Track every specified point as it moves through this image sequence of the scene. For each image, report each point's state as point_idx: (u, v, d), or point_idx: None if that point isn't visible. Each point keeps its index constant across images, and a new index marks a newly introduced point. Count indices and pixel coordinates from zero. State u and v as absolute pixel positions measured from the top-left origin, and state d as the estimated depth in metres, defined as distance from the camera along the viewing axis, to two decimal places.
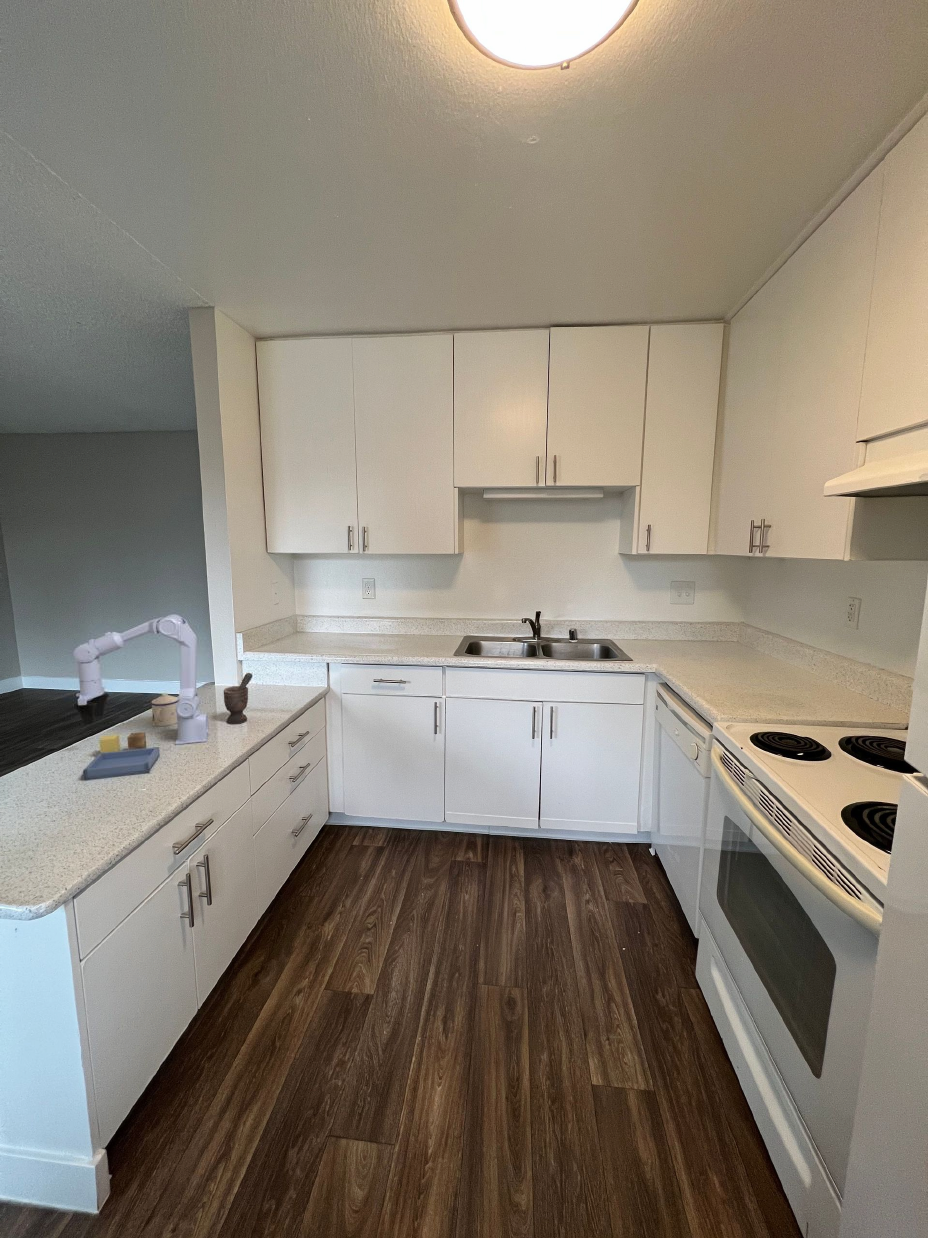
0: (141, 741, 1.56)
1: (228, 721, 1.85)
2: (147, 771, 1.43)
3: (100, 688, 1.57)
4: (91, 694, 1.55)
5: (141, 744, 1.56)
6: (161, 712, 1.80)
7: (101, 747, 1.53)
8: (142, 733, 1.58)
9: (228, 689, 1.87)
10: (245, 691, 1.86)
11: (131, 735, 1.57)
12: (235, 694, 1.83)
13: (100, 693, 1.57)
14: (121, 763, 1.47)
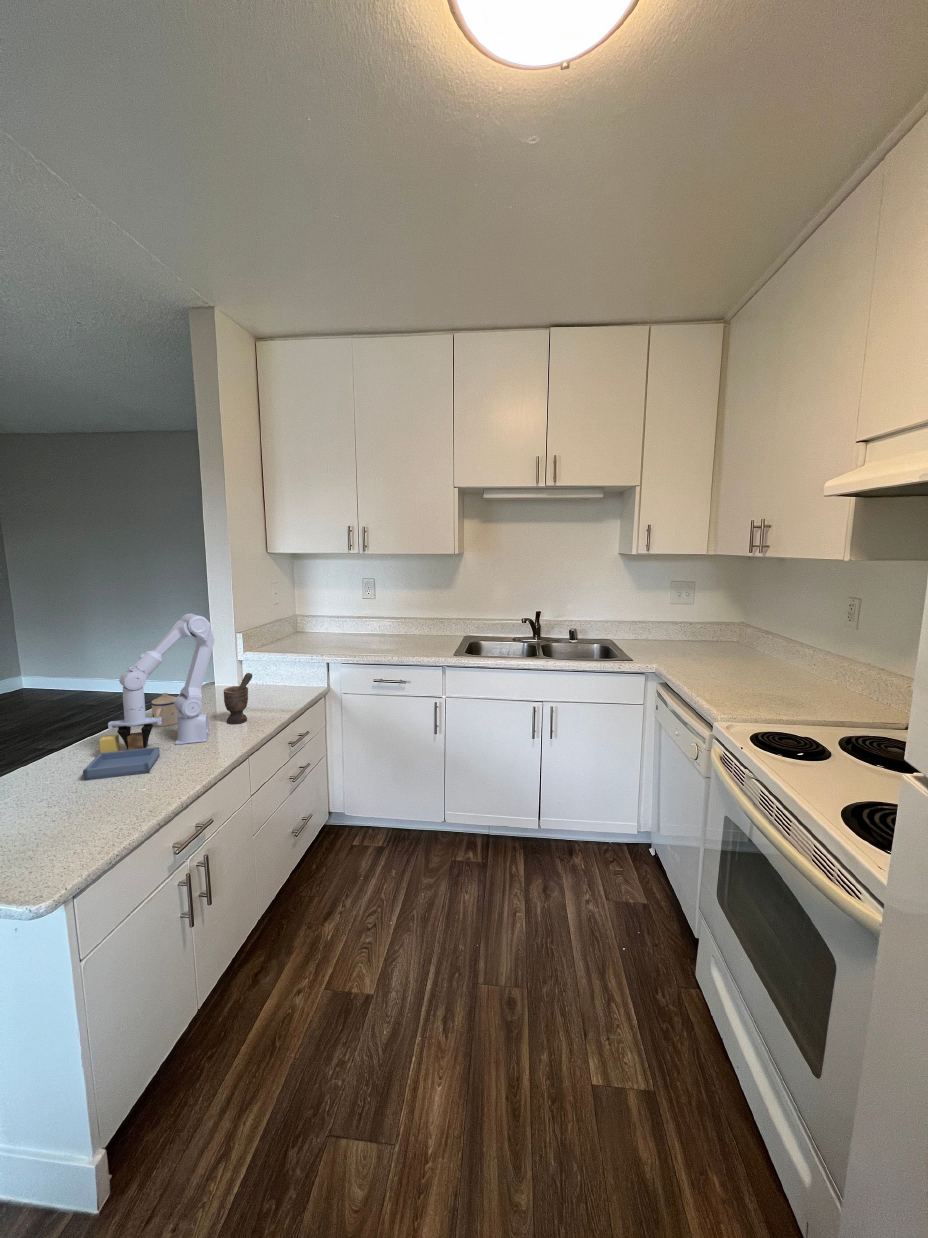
0: (141, 741, 1.56)
1: (228, 721, 1.85)
2: (147, 771, 1.43)
3: (130, 719, 1.54)
4: (124, 721, 1.55)
5: (141, 744, 1.56)
6: (161, 712, 1.80)
7: (101, 747, 1.53)
8: None
9: (228, 689, 1.87)
10: (245, 691, 1.86)
11: (131, 735, 1.57)
12: (235, 694, 1.83)
13: (129, 723, 1.54)
14: (121, 763, 1.47)
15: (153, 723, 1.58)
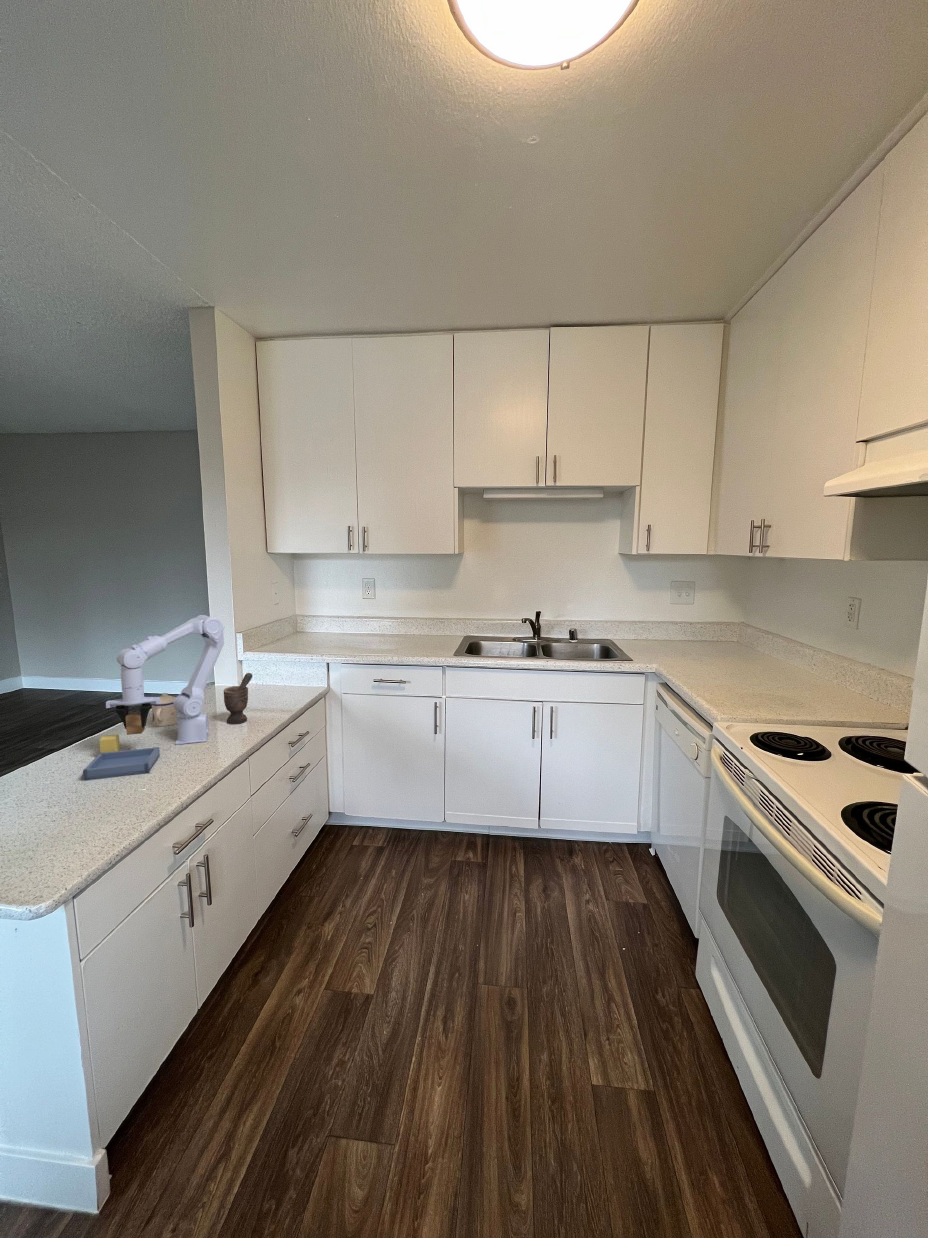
0: (139, 720, 1.54)
1: (228, 721, 1.85)
2: (147, 771, 1.43)
3: (128, 697, 1.52)
4: (122, 700, 1.53)
5: (139, 723, 1.54)
6: (161, 712, 1.80)
7: (101, 747, 1.53)
8: (140, 713, 1.56)
9: (228, 689, 1.87)
10: (245, 691, 1.86)
11: (129, 714, 1.55)
12: (235, 694, 1.83)
13: (127, 702, 1.52)
14: (121, 763, 1.47)
15: (152, 702, 1.56)
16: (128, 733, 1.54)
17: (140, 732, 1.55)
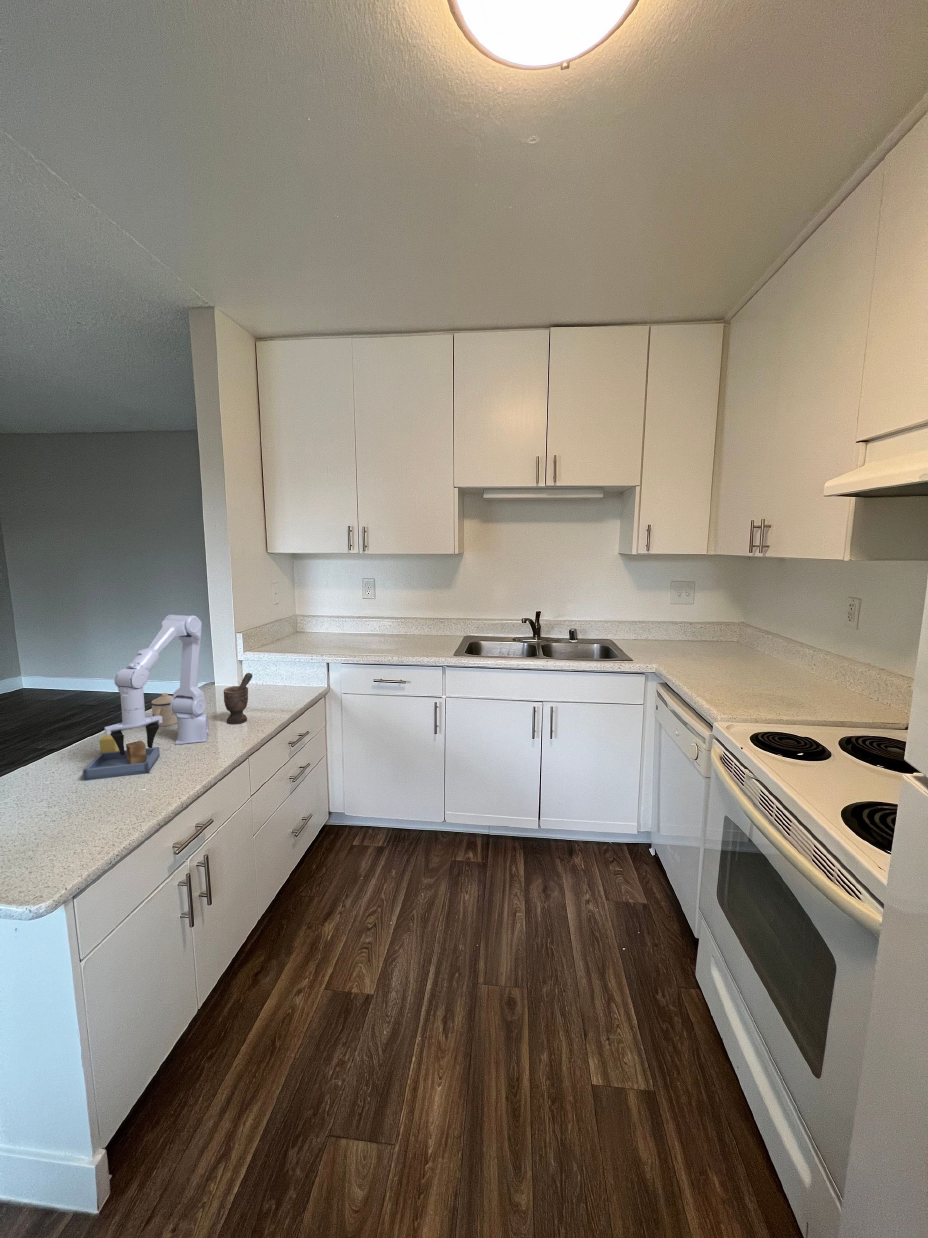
0: (144, 749, 1.47)
1: (228, 721, 1.85)
2: (147, 771, 1.43)
3: (134, 719, 1.44)
4: (124, 724, 1.43)
5: (144, 752, 1.47)
6: (161, 712, 1.80)
7: (101, 747, 1.53)
8: (140, 742, 1.49)
9: (228, 689, 1.87)
10: (245, 691, 1.86)
11: (130, 745, 1.46)
12: (235, 694, 1.83)
13: (133, 725, 1.43)
14: (121, 763, 1.47)
15: (153, 722, 1.50)
16: None
17: (145, 761, 1.48)
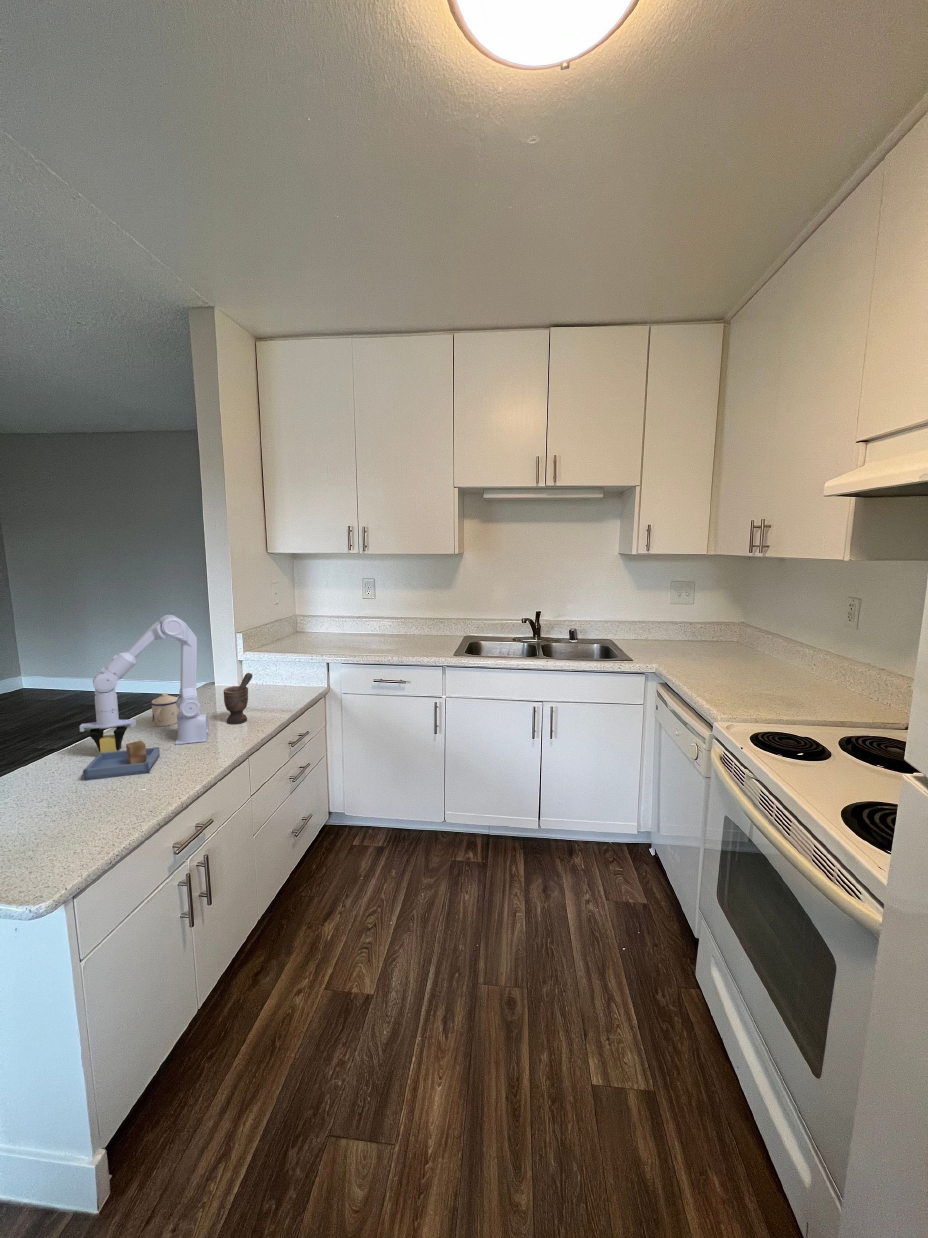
0: (144, 749, 1.47)
1: (228, 721, 1.85)
2: (147, 771, 1.43)
3: (102, 721, 1.51)
4: (96, 724, 1.52)
5: (144, 752, 1.47)
6: (161, 712, 1.80)
7: (101, 747, 1.53)
8: (140, 742, 1.49)
9: (228, 689, 1.87)
10: (245, 691, 1.86)
11: (130, 745, 1.46)
12: (235, 694, 1.83)
13: (101, 726, 1.51)
14: (121, 763, 1.47)
15: (126, 725, 1.56)
16: None
17: (145, 761, 1.48)
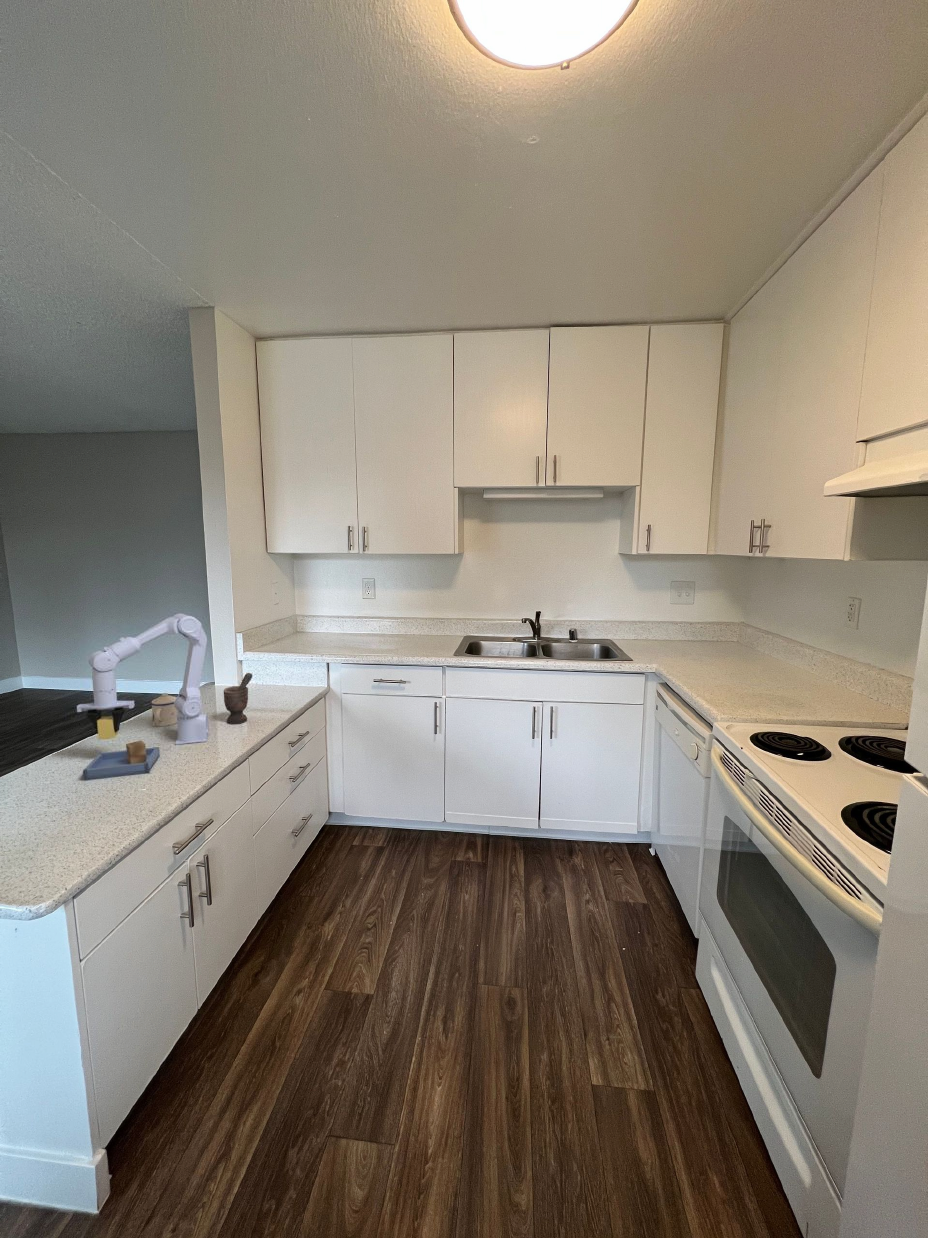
0: (144, 749, 1.47)
1: (228, 721, 1.85)
2: (147, 771, 1.43)
3: (100, 701, 1.47)
4: (94, 704, 1.48)
5: (144, 752, 1.47)
6: (161, 712, 1.80)
7: (99, 728, 1.49)
8: (140, 742, 1.49)
9: (228, 689, 1.87)
10: (245, 691, 1.86)
11: (130, 745, 1.46)
12: (235, 694, 1.83)
13: (98, 706, 1.47)
14: (121, 763, 1.47)
15: (125, 706, 1.52)
16: None
17: (145, 761, 1.48)
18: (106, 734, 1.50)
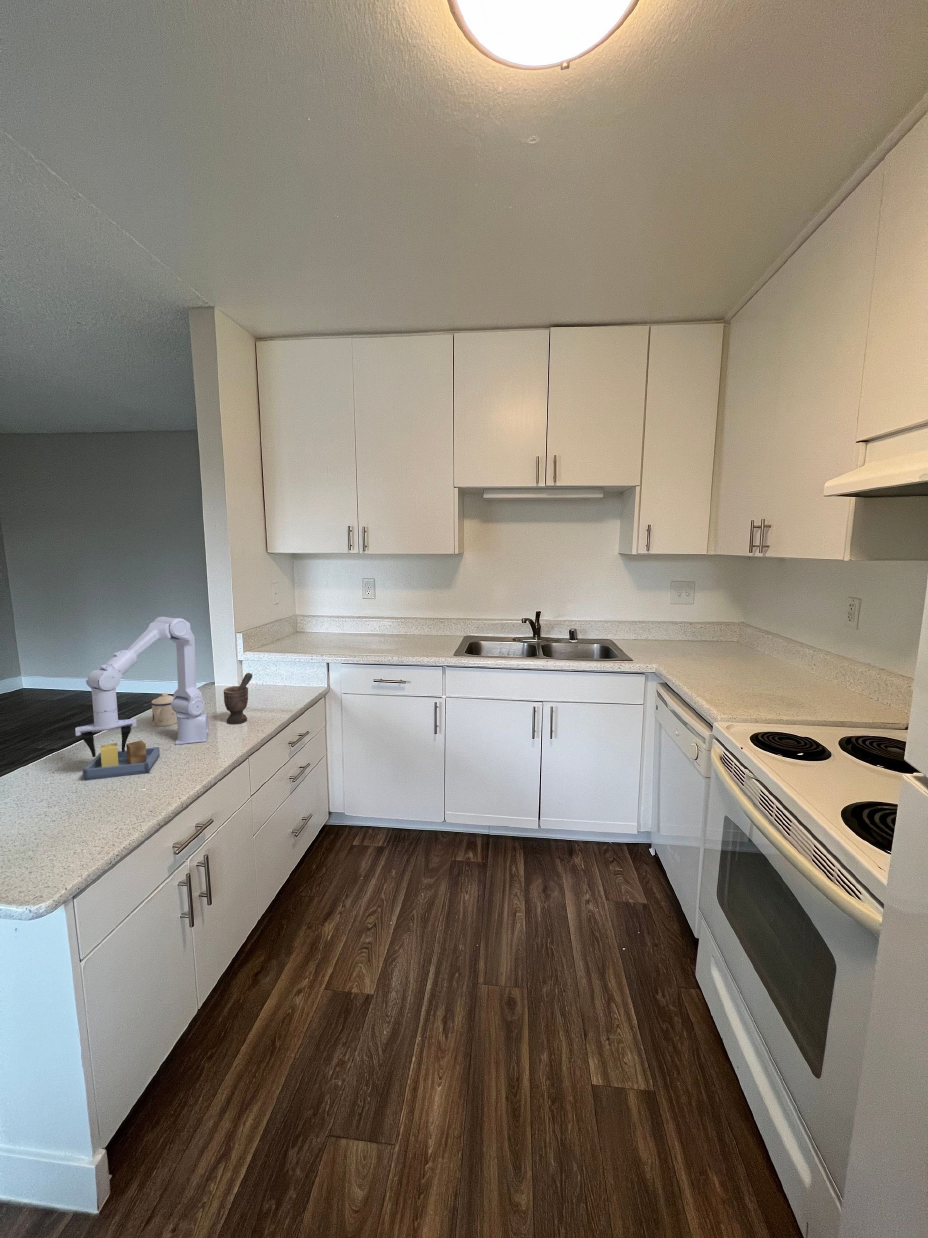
0: (144, 749, 1.47)
1: (228, 721, 1.85)
2: (147, 771, 1.43)
3: (104, 722, 1.41)
4: (95, 726, 1.41)
5: (145, 752, 1.47)
6: (161, 712, 1.80)
7: (102, 757, 1.43)
8: (141, 741, 1.49)
9: (228, 689, 1.87)
10: (245, 691, 1.86)
11: (130, 745, 1.46)
12: (235, 694, 1.83)
13: (102, 727, 1.41)
14: (121, 763, 1.47)
15: (127, 725, 1.47)
16: None
17: (145, 761, 1.48)
18: (111, 763, 1.44)
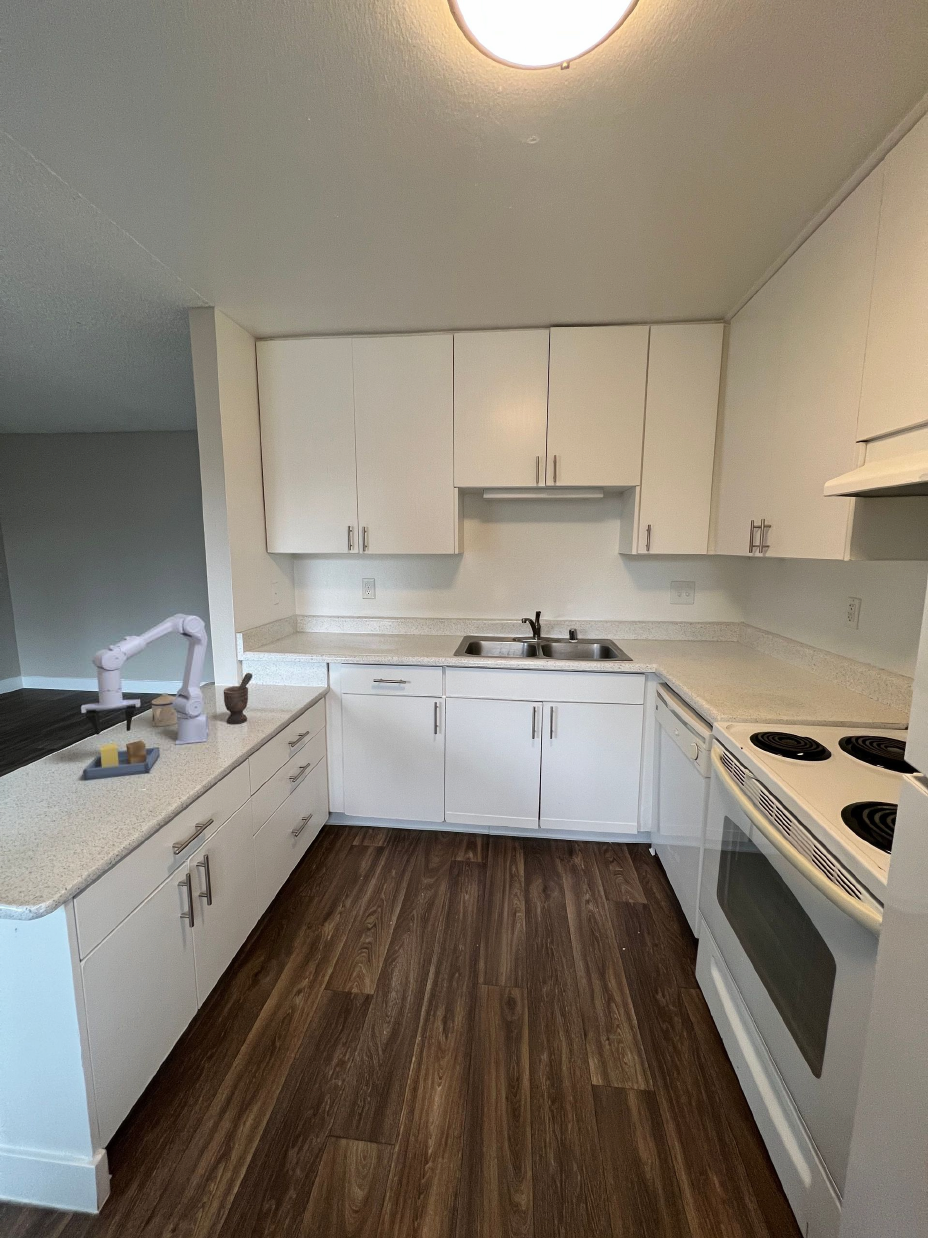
0: (144, 749, 1.47)
1: (228, 721, 1.85)
2: (147, 771, 1.43)
3: (107, 701, 1.45)
4: (99, 704, 1.46)
5: (144, 752, 1.47)
6: (161, 712, 1.80)
7: (102, 757, 1.43)
8: (140, 741, 1.49)
9: (228, 689, 1.87)
10: (245, 691, 1.86)
11: (130, 745, 1.46)
12: (235, 694, 1.83)
13: (105, 706, 1.45)
14: (121, 763, 1.47)
15: (131, 705, 1.50)
16: None
17: (145, 761, 1.48)
18: (111, 763, 1.44)
